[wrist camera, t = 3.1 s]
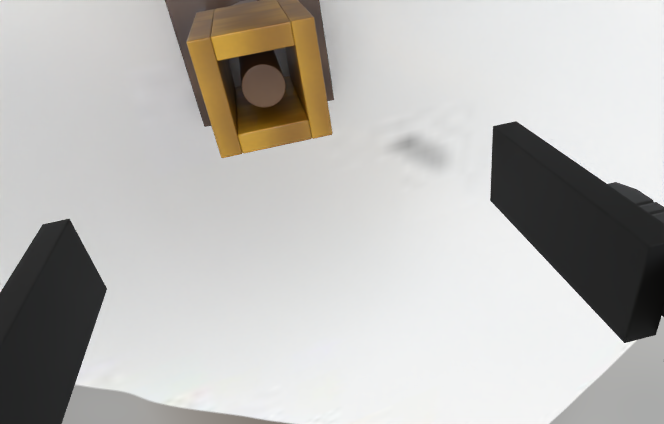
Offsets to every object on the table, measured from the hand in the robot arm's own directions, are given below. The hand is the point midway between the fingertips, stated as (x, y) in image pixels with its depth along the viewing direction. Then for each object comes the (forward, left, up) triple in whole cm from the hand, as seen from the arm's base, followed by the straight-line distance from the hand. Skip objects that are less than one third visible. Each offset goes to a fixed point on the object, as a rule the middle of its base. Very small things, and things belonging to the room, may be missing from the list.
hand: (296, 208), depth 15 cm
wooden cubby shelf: (0, 0, -21) cm, 21 cm away
